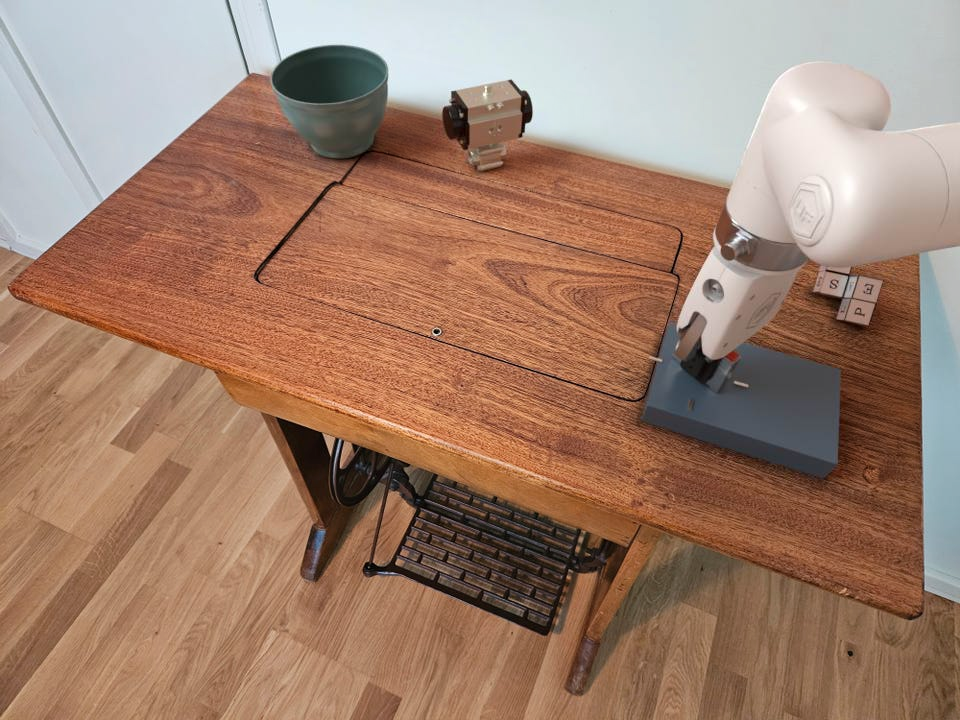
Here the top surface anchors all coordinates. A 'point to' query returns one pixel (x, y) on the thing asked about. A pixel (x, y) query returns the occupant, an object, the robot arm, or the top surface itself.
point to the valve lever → (717, 368)
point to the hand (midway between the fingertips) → (699, 368)
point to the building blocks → (849, 293)
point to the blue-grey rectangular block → (753, 406)
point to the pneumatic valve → (487, 120)
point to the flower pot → (333, 97)
